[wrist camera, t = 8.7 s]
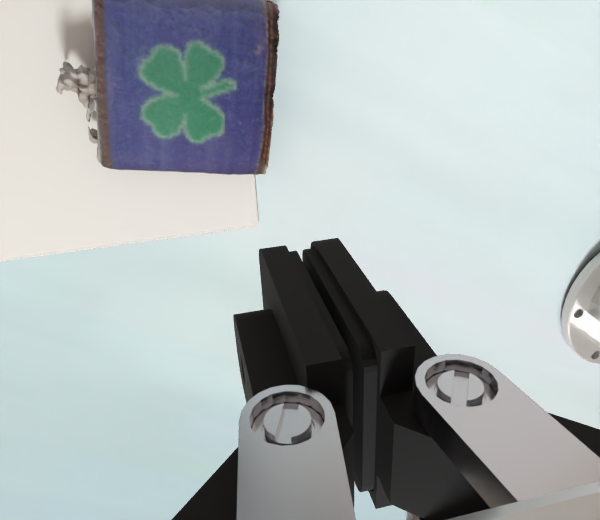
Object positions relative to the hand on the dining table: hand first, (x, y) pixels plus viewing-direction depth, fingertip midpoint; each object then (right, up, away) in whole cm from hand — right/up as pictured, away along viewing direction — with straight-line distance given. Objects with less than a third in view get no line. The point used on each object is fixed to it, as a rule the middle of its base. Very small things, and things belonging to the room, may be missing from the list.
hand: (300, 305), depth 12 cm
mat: (-11, +9, +18) cm, 23 cm away
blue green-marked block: (-1, +10, +18) cm, 21 cm away
